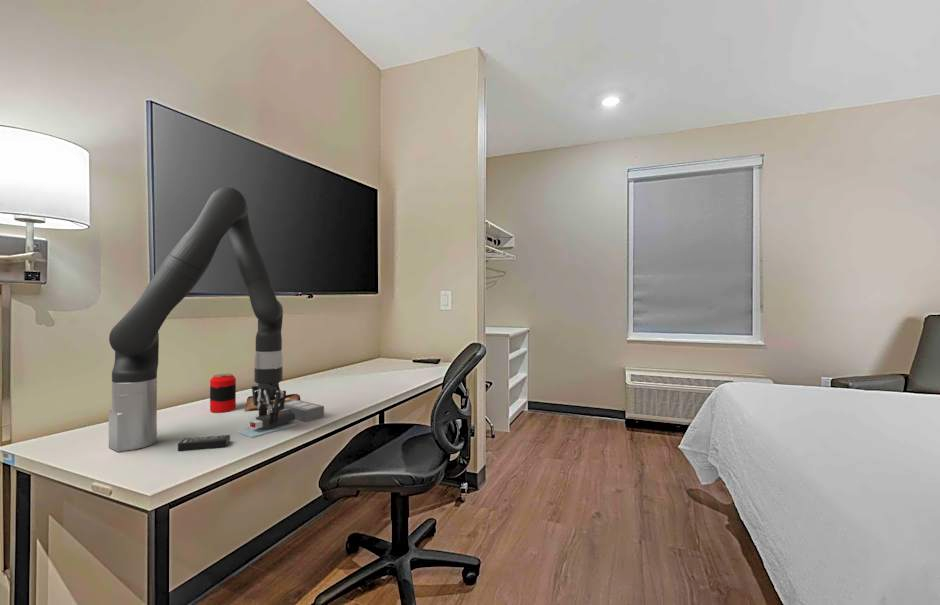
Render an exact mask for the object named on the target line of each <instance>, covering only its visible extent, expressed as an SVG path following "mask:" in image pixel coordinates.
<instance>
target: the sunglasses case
mask: <svg viewBox="0 0 940 605" xmlns="http://www.w3.org/2000/svg"><path fill="white" fill-rule="evenodd" d="M286 398H290V399H296V400H300V401H301V395H300V394H298V393H290V394H286V397H285V399H286ZM257 399H258V397H257ZM271 401H275V400H271ZM257 402H258V401H257ZM273 406H274V404H273ZM268 407H269V405H267V407H266V408H267V411H268ZM253 411H254V412H256V411H259V409H258V408H257V406H254V402H253V395H250V396H248V397H247V398H246V403H245V408H244V412H253Z"/></svg>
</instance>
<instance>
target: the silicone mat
mask: <svg viewBox="0 0 940 605" xmlns="http://www.w3.org/2000/svg"><path fill="white" fill-rule="evenodd" d="M295 426H297V422H296V423H294V422H293V421H290V422H287V423H283V424H280V425H276V426H272V427H269V428H258V429H254V428H251V427H250V428H247V429H244V430H239V431H238V434H239V435H241V436H245V437H248V438H251V439H254V438H257V437H261V436H265V435H267V434H272V433H274V432H277V431H281V430H285V429H288V428H292V427H295Z"/></svg>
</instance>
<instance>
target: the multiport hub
mask: <svg viewBox="0 0 940 605" xmlns="http://www.w3.org/2000/svg"><path fill="white" fill-rule="evenodd" d="M230 443H231V435H230V434H225V435H212V436H199V437H197V436H196V437H185V438H183V439H181V440H180V441H179V442H178V443H177V452H189V451H200V450H201V451H202V450H212V449H214V450H215V449H226V448H228V445H229V444H230Z"/></svg>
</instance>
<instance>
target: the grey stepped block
mask: <svg viewBox="0 0 940 605" xmlns="http://www.w3.org/2000/svg"><path fill="white" fill-rule="evenodd" d="M279 406H280V404H279ZM273 408H274V406H273ZM280 411H289V412H293V413H294V414H295V420H297V421H302V422H305V423H307V422H309V421H313V420H317V419H320V417H321V418H323V416H324V417H325V406H324V405H321V404H316V403H313V402H309V401H304V400H301V399H300V400H296V399H290V398H286V399H285V403H284V409H283V410H280ZM267 414H270V408H269V407H268V410H267Z"/></svg>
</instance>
